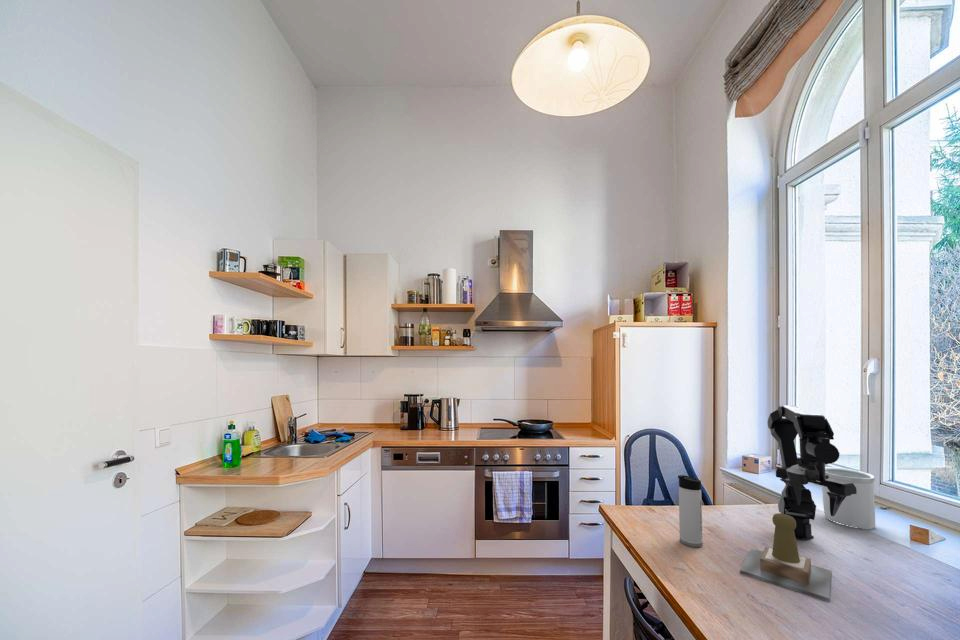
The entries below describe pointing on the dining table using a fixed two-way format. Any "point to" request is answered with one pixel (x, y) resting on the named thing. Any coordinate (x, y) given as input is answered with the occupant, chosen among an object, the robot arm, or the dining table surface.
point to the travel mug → (690, 511)
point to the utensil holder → (852, 499)
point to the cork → (785, 539)
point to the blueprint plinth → (811, 590)
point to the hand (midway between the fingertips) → (814, 510)
